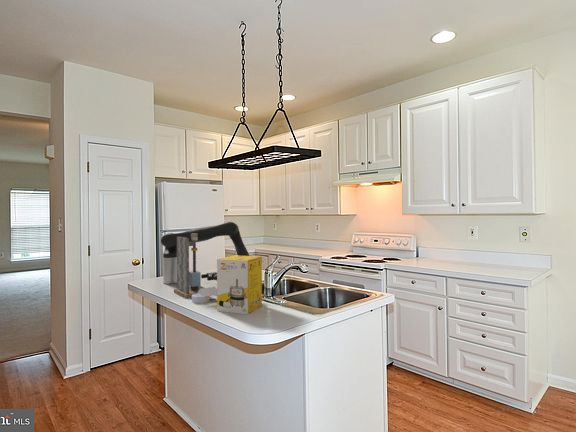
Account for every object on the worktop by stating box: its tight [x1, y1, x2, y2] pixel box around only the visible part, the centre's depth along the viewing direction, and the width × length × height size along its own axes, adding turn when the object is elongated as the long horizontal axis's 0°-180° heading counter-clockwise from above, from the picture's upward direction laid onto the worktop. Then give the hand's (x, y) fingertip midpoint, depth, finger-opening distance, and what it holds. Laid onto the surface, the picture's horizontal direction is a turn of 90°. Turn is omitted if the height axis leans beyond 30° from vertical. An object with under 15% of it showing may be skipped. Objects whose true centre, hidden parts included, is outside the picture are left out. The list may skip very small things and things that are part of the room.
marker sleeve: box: [189, 270, 202, 287], centre depth 208 cm, size 5×5×8 cm
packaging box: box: [216, 254, 263, 315], centre depth 176 cm, size 16×16×25 cm
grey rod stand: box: [173, 233, 205, 299], centre depth 208 cm, size 18×16×35 cm
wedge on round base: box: [191, 286, 217, 304], centre depth 191 cm, size 9×7×13 cm
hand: (204, 277), depth 212 cm, fingers open, 8 cm apart
